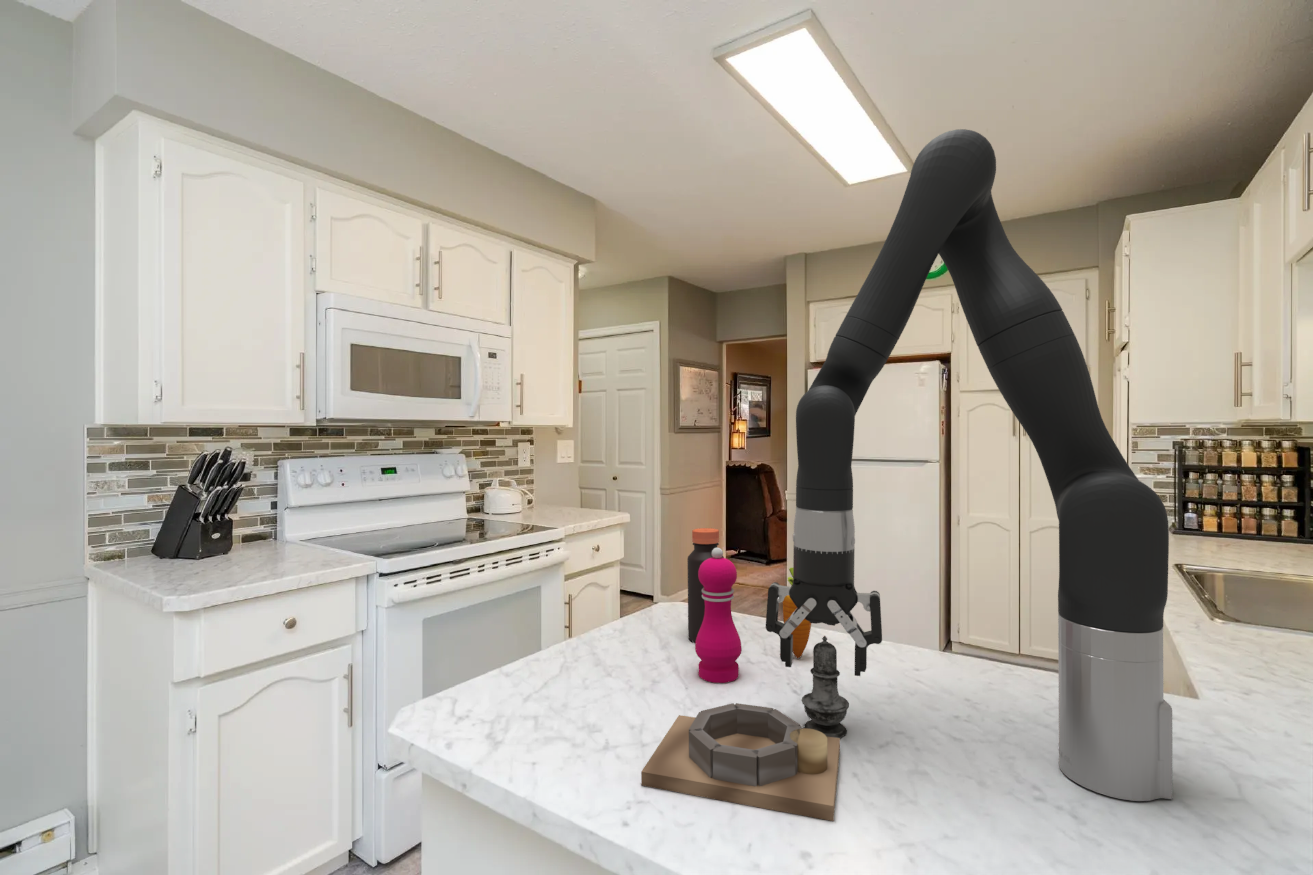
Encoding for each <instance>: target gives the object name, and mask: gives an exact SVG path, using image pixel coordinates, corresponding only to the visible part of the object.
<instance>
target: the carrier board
mask: <svg viewBox="0 0 1313 875" xmlns="http://www.w3.org/2000/svg"><path fill="white" fill-rule="evenodd" d="M840 757H841V738H834V737H827V736H826V735H825V734H823V733H822V732H820V731H817V730H814V729H807V728H804V727H802V725H801V724H800V723H799V722H797V721H795V720H793V719H792V718H790V717H789V716H787V715H786V714H784V713H783V712H781V711H780V710H778V709H777V708H775V709H774V708H773V707H767V706H762V705H753V704H746V703H739V702H738V703H737V702H736V703H729V704H725V705H720V706H716V707H713V708H712V707H711V708H708V709H702V710H701V711H699V712H698V714H697V715H696V717H693V716H688V715H681V714H678V716H677V717H676V719H675V720H674V721H673V723H672V725H671V726H670V728H669V729H668V731H667V733H665V736H664V737H663V738H662V740H661V741H660V743H659V745H657V747H656V749H655V751H654V752H653V753H652V754H651V756H650V758H649V759H648V761H647V762H646V764H645V765H644V766H643V768H642V770H641V773H640V774H641V775H640V776H641V779H640V780H641V783H640V784H641V786H643V787H648V788H654V789H659V790H664V791H671V792H674V793H675V792H676V793H679V794H685V795H691V796H696V797H702V798H707V799H712V800H716V801H722V802H723V801H724V802H728V803H734V804H739V805H745V806H749V807H755V808H759V809H760V808H761V809H766V810H771V811H776V812H781V813H786V814H792V815H798V816H804V817H808V818H814V819H820V820H826V821H830V822H834V821H835V810H836V809H835V808H836V800H837V789H838V788H837V787H838V777H839V766H840Z"/></svg>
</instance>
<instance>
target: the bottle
mask: <svg viewBox="0 0 1313 875" xmlns="http://www.w3.org/2000/svg"><path fill="white" fill-rule="evenodd" d="M691 536H692V537H691V538H692V539H691V540H692V542H691V543H692V545H693V550H692V551H691V552H690V554H689V555H688V556H687V627H688V628H687V630H688V631H687V633H688V634H687V637H688V639H689V641H691V642H693V643H696V638H697V634H698V632H699V630H700V627H701V625H702V622H703V619H704V614H705V601H704V599H703V598H702V593H703V592H702V589H703V588H704V586H703V585H702V584H701V582H700V581H699V577H698V571H699V568H700V565H701V564H702V563H703V562H704V561H705V560H707V559H709V558H712V557H713V556H712V550H713V549H714V548H718V546H719V545H720V544H719V542H720V530H719V529H718V528H717V529H716V528H712V527H711V528H710V527H709V528H708V527H704V528H703V527H702V528H700V527H699V528H694V529H692V533H691ZM722 558H725V557H724V555H723V556H722Z"/></svg>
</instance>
